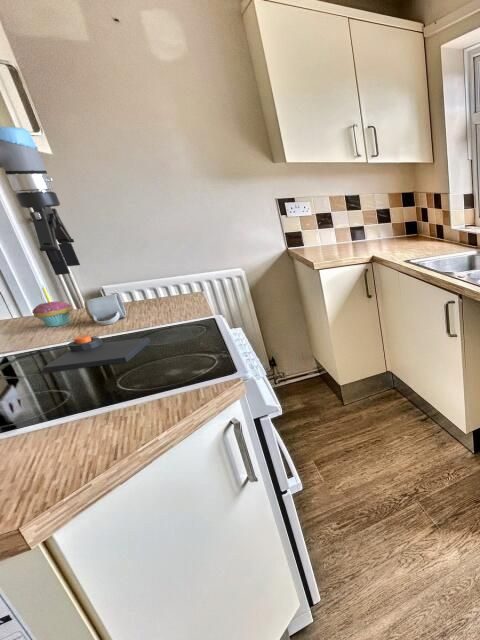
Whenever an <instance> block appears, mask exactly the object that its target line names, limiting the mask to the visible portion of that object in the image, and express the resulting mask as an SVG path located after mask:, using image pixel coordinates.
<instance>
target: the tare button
mask: <svg viewBox="0 0 480 640" xmlns="http://www.w3.org/2000/svg"><path fill="white" fill-rule="evenodd" d="M91 337H92V336H90V334H84V335H83V334H82V335H79V336H76V337H74V338H73V341H75V342H76V344H83V343H87V342H90V341H92V339H91Z"/></svg>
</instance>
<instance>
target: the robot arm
mask: <svg viewBox="0 0 480 640" xmlns="http://www.w3.org/2000/svg"><path fill="white" fill-rule="evenodd" d="M1 168H2V169H3V170H4V172H5V174H6V177H7V179H8V182H9V184H10V186H11V189H12V191H14V192H17V193H15V197H16V200H17V201H18V204H19V206H20V207H21V208H23V209H31V208H32V210H33V211H30V212H29V216H30V217H31V219H32V222H33V227H34V230H35V233H36V237H37V240H38V244H39V252H45V254H46V256H47V258H48V261H49V263H50V265H51V267H52V270H53V272H54V274H55V276H60V275H68V274H71V272H70V270H69V268H68V267H75V266H76V267H77V266H81V263H80V260H79V258H78V256H77V253H76V251H75V248H74V247H73V244H72V243H75V240H74V238H72V236H71V235H70V233H69V232H68V230H67V228H66V226H65V225H64V223H63V221H62V219H61V217H60V215H59V214H58V210H57V209H56V208H54V207H59V206H60V205H61V203H60V200H59V198H58V195H57V193H56V192H55V191H52V190H54V186H53V184H52V182H53V181H54V179H53V178H52V177H49V174H48V172H47V170H46V169H47V168H46V166H45V163H44V162H43V160H42V156H41V154H40V151H39V148H38V146H37V145H36V142H35V140H34V139H33V136H32V134H31V133H30V131H29V130H27V129H26V128H24V127H16V126H0V169H1Z"/></svg>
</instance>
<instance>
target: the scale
mask: <svg viewBox="0 0 480 640" xmlns="http://www.w3.org/2000/svg"><path fill="white" fill-rule="evenodd" d="M90 337H91V339H92V341H90V342H87V343H83V344H76V342H75V340H73V341H70V342H69V343H68V344H67V346H68V348H69V350H67V351H66V352H65V353H63V354H61V355H60V356H58V357H56V358H55V359H54V360H52V361H51V362H49V363H47V364H45V366H43V367H42V369H43V371H44V373H45V374H46V373H53V372H62V371H67V370H68V371H69V370H77V369H84V368H93V367H99V366H109V365H116V364H122V363H128V362H129V361H130V360H131V359H133V358H134V357H135V356H136V355H138V353H140V352H141V351H142V350H144V348H146V347H147V346H148V345H149V344H150V343H151V342H152V341H151V338H150V337H141V338H132V339H124V340H116V341H114V340H113V341H107V342H106V341H105V342H102V341H101V339H100V337H98V336H90Z"/></svg>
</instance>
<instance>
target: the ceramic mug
mask: <svg viewBox="0 0 480 640" xmlns="http://www.w3.org/2000/svg"><path fill="white" fill-rule="evenodd" d="M84 309H85V311H86V314H87V316H88V318H89V319H90V320H91V321H93V322H95V324H97V325H100V326H107V325H108V324H109V325H112V324H114V323H116V322H117V321H118V320H119V319H124V318H126V317H127V311H126V308H125V306H124V303H123V301H122V299H121V297H120V295H118V294H117V293H113V294H108V295H104V296H99V297H94V298H90V299H87V300H85V301H84ZM109 325H108V326H109Z"/></svg>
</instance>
